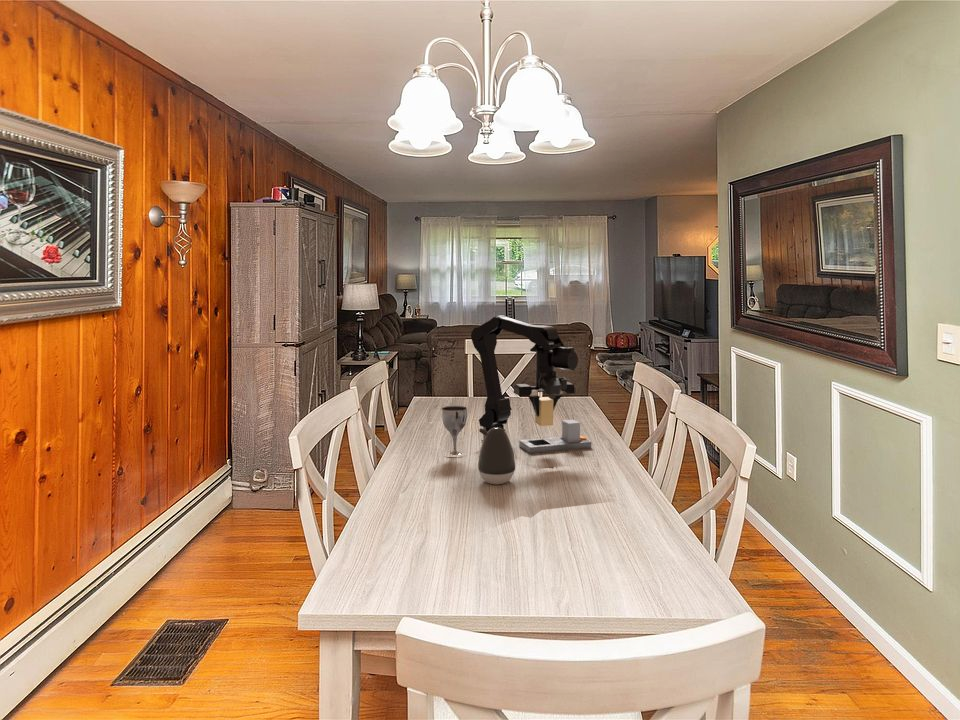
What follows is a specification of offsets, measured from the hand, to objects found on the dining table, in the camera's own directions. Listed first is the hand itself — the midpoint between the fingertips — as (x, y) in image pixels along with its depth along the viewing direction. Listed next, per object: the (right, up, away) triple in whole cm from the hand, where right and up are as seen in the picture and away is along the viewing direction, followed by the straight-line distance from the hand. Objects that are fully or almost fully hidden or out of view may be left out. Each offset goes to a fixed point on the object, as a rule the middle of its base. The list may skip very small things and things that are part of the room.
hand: (544, 415), depth 209 cm
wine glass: (-28, -13, +1) cm, 31 cm away
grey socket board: (+4, -12, +5) cm, 13 cm away
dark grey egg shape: (-16, -16, -26) cm, 35 cm away
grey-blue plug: (+9, -10, +7) cm, 15 cm away
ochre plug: (0, -3, 0) cm, 3 cm away
